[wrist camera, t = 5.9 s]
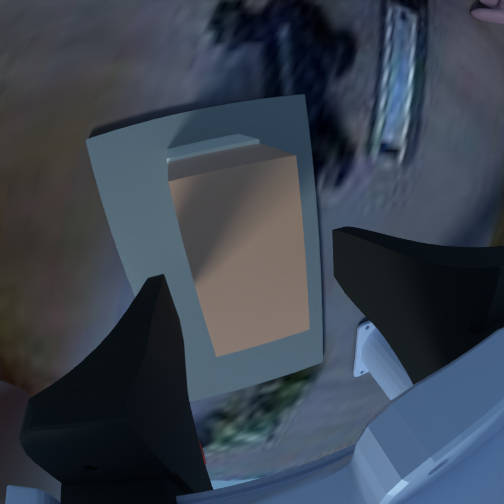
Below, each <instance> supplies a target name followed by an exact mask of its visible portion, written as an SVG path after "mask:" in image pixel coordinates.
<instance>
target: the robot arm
mask: <svg viewBox="0 0 504 504" xmlns="http://www.w3.org/2000/svg"><path fill="white" fill-rule="evenodd" d="M332 234H333V263H334V277H335V278H336V280H337V281H338V283H339V285H340V286H341V288H342V289H343V291H344V292H345V293H346V295H347V296H348V297H349V298H350V299H351V300H352V302H353V303H354V304H355V305H356V306H357V307H358V308H359V309H360V310H361V312H362V313H363V314H364V315H365V316H366V317H367V318H368V319H369V321H367V322H364V323H362V324H360V325H359V326H358V329H357V341H356V352H355V362H354V371H353V375H354V376H355V377H358V376H360V375H362V374H365V373H367V372H370V373H371V375H372V376H373V377H374V379H375V380H376V381H377V383H378V384H379V385H380V387H381V388H382V389H383V391H384V392H385V393H386V395H387V396H388V397H389V399H390V400H391V401H390V402H389V403H388V404H387V405H386V406H384V407H383V408H382V409H381V410H380V411H379V412H378V413H377V414H376V415H375V416H374V417H373V418H372V419H371V420H370V421H369V422H368V423H367V425H366V427H365V428H364V430H363V432H362V433H361V435H360V436H359V438H358V441H357V443H355V444H353V445H351V446H349V447H346V448H344V449H342V450H339V451H337V452H335V453H332V454H330V455H327V456H325V457H322V458H320V459H317V460H314V461H312V462H309V463H306V464H304V465H301V466H298V467H295V468H292V469H289V470H286V471H283V472H280V473H277V474H273V475H270V476H267V477H263V478H260V479H256V480H253V481H249V482H245V483H241V484H237V485H233V486H229V487H224V488H220V489H215V490H213V488H212V485H211V482H210V479H209V475H208V472H207V469H206V466H205V462H204V459H203V455H202V452H201V448H200V445H199V441H198V437H197V433H196V429H195V425H194V421H193V416H192V412H191V407H190V402H189V396H188V387H187V375H186V361H185V347H184V339H183V333H182V328H181V323H180V319H179V316H178V313H177V310H176V307H175V304H174V302H173V299H172V296H171V293H170V290H169V287H168V284H167V281H166V278H165V275H164V274H161V275H157V276H153V277H149V278H147V280H146V281H145V283H144V284H143V286H142V288H141V289H140V291H139V292H138V294H137V296H136V297H135V299H134V300H133V302H132V303H131V305H130V307H129V308H128V309H127V311H126V312H125V314H124V315H123V316H122V318H121V319H120V321H119V322H118V323H117V325H116V326H115V327H114V329H113V330H112V331H111V332H110V333H109V335H108V336H107V337H106V338H105V339H104V340H103V341H102V342H101V344H100V345H99V346H98V347H97V348H96V349H95V350H93V351H92V352H91V353H90V354H89V355H88V356H87V357H86V358H85V359H84V360H83V361H82V362H81V363H80V364H78V365H77V366H76V367H75V368H74V369H72V370H71V371H70V372H69V373H67V374H66V375H65V376H63V377H62V378H61V379H59V380H58V381H57V382H55V383H54V384H52V385H51V386H49V387H47V388H46V389H44V390H43V391H41V392H39V393H38V394H36V395H35V396H33V397H31V398H29V400H28V404H27V408H26V411H25V416H24V420H23V424H22V428H21V432H20V437H19V438H20V444H21V446H22V447H23V449H24V451H25V453H26V454H27V455H28V456H29V457H30V458H31V459H32V460H33V461H34V462H35V463H36V464H38V465H39V466H40V467H41V468H43V469H44V470H45V471H46V472H48V473H49V474H50V475H52V476H53V477H54V478H56V479H57V480H58V481H60V482H61V483H62V484H61V501H58V500H57V499H56V498H54V497H53V496H52V495H50V494H49V493H47V492H44V491H43V490H40V489H36V488H30V487H20V486H13V485H9V486H7V493H6V502H5V504H504V246H497V247H451V246H441V245H434V244H426V243H421V242H415V241H411V240H406V239H401V238H397V237H393V236H389V235H385V234H381V233H377V232H373V231H369V230H365V229H360V228H355V227H347V226H346V227H342V228H338V229H334V230H332Z"/></svg>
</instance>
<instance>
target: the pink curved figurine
mask: <svg viewBox="0 0 504 504" xmlns="http://www.w3.org/2000/svg"><path fill="white" fill-rule="evenodd" d="M479 1H480V2H481V4H482V5H483V6H485V7H487V8H478V9H474V10H472V11H471V15H472V16H473V17H474V18H476V19H479V20H482V21H486V22H493V23H499V24H504V0H479ZM488 8H489V9H488Z"/></svg>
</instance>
